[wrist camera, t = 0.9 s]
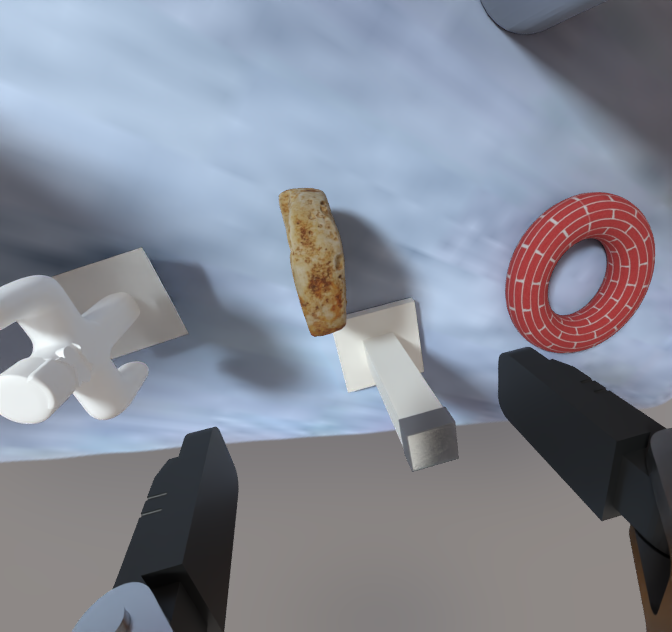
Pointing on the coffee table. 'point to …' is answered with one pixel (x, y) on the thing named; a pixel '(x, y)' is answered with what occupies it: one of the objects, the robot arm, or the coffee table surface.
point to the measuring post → (397, 379)
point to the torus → (617, 287)
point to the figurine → (84, 336)
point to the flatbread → (315, 259)
